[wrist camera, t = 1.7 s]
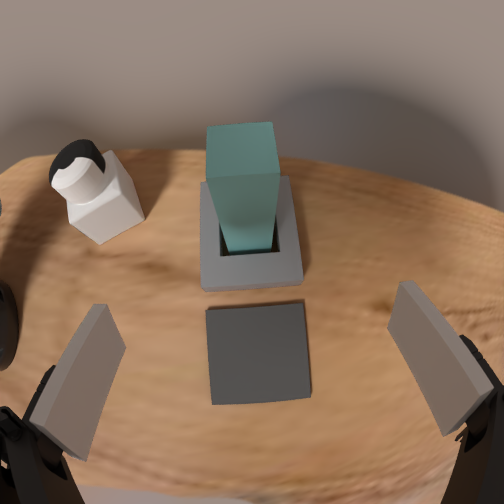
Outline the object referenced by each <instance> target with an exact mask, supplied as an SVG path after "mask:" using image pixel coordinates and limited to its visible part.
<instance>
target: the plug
mask: <svg viewBox="0 0 504 504" xmlns="http://www.w3.org/2000/svg"><path fill="white" fill-rule="evenodd" d="M280 173H281V172H280V166H279V159H278V153H277V147H276V141H275V135H274V130H273V124H272V122H254V123H239V124H228V125H218V126H209V127H207V146H206V181H207V184H208V187H209V191H210V194H211V197H212V200H213V204H214V207H215V210H216V213H217V216H218V220H219V223H220V226H221V229H222V232H223V235H224V239H225V242H226V245H227V248H228V251H229V254H230V256H235V255H248V254H261V253H271V246H272V238H273V231H274V223H275V215H276V207H277V198H278V190H279V182H280Z"/></svg>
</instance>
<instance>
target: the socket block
mask: <svg viewBox="0 0 504 504" xmlns="http://www.w3.org/2000/svg"><path fill="white" fill-rule="evenodd" d="M275 230H276V239H277V248H278V252H275V253H261V254H248V255H235V256H223V249H222V229H221V226H220V223H219V220H218V216H217V213H216V210H215V207H214V204H213V200H212V197H211V194H210V191H209V187H208V184H207V182H201V188H200V269H201V288H202V289H203V290H204V291H205V292H216V291H231V290H246V289H259V288H271V287H283V286H295V285H300V284H301V283H302V282H303V280H304V276H303V268H302V260H301V253H300V245H299V238H298V231H297V224H296V217H295V211H294V204H293V198H292V192H291V186H290V180H289V175H287V176H280V182H279V190H278V198H277V207H276V215H275Z"/></svg>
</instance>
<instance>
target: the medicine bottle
mask: <svg viewBox="0 0 504 504" xmlns="http://www.w3.org/2000/svg"><path fill="white" fill-rule="evenodd" d="M49 182H50V184H51V186H52V187H53V188H54V189H55V190H56V191H57V192H59V193H60V194H61V195H62V196H63V197H64V198H65V199H66V200H67V209H68V217H69V223H70V224H71V225H72V226H74V227H75V228H76V229H78V230H79V231H81V232H82V233H83V234H85V235H86V236H87V237H89V238H90V239H92V240H93V241H94V242H96V243H97V244H99V245H101V244H103V243H104V242H106V241H108V240H110V239H111V238H113V237H115V236H117V235H119V234H120V233H122V232H124V231H126V230H128V229H130V228H131V227H133V226H135V225H137V224H139V223H141V222H143V221H144V220H145V217H144V214H143V211H142V208H141V205H140V202H139V199H138V196H137V193H136V189H135V186H134V183H133V180H132V178H131V177H130V175H129V174H128V173H127V171H126V170H125V168H124V167H123V165H122V164H121V162H120V161H119V159H118V158H117V156H116V155H115V154H114V152H113V151H112V150H109V151H107V152H105V153H104V154H101V153H100V152H99V150H98V149H97V148H96V146H95V145H94V143H93V142H92V141H90V140H84V139H83V140H77V141H74V142H72V143H70V144H69V145H67V146H66V147H65V148H64V149H63V150H61V152H60V153H59V154H58V155H57V156H56V158H55V159H54V161H53V163H52V165H51V168H50V171H49Z"/></svg>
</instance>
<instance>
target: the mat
mask: <svg viewBox="0 0 504 504" xmlns="http://www.w3.org/2000/svg"><path fill="white" fill-rule="evenodd" d="M206 329H207V346H208V361H209V375H210V387H211V399H212V405H224V404H250V403H265V402H276V401H286V400H295V399H303V398H310V397H311V393H310V378H309V364H308V351H307V340H306V329H305V318H304V308H303V303H297V304H287V305H276V306H264V307H251V308H236V309H220V310H206Z"/></svg>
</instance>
